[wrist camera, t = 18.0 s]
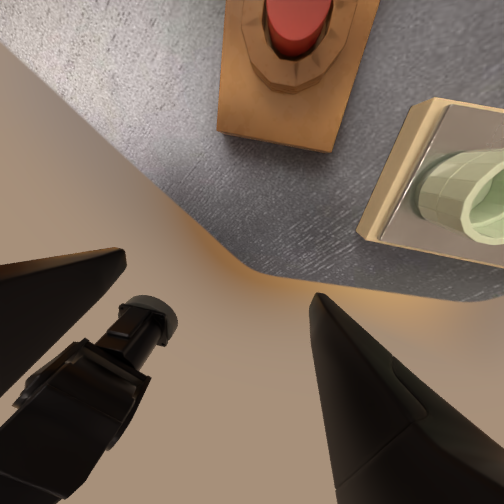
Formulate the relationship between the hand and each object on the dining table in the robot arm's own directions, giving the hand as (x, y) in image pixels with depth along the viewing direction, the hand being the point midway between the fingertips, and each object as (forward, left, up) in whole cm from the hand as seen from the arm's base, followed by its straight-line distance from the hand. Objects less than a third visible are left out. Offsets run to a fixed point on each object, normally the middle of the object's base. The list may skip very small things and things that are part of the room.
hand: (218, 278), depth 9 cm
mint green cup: (+6, -14, -8) cm, 17 cm away
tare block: (+12, -1, -12) cm, 17 cm away
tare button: (+12, -1, -8) cm, 15 cm away
